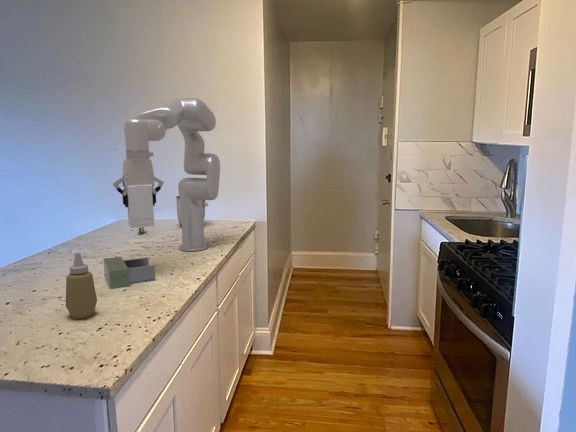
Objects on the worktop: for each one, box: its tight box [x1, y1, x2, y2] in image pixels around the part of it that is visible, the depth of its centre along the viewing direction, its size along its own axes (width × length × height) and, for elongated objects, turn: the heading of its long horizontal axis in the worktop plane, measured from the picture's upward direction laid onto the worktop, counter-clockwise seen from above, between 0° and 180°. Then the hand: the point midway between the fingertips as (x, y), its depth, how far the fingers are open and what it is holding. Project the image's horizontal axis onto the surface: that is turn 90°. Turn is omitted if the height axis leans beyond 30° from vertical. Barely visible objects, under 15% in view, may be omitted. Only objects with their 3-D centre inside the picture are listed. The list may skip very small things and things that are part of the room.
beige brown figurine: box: [136, 227, 145, 236], centre depth 228 cm, size 12×18×7 cm, turn 13°
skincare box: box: [126, 185, 155, 229], centre depth 156 cm, size 8×6×15 cm
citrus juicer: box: [175, 195, 209, 228], centre depth 244 cm, size 16×17×20 cm
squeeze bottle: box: [65, 252, 98, 320], centre depth 124 cm, size 8×8×18 cm
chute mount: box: [103, 256, 156, 290], centre depth 157 cm, size 15×17×6 cm
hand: (139, 205), depth 156 cm, fingers closed on skincare box, 8 cm apart
